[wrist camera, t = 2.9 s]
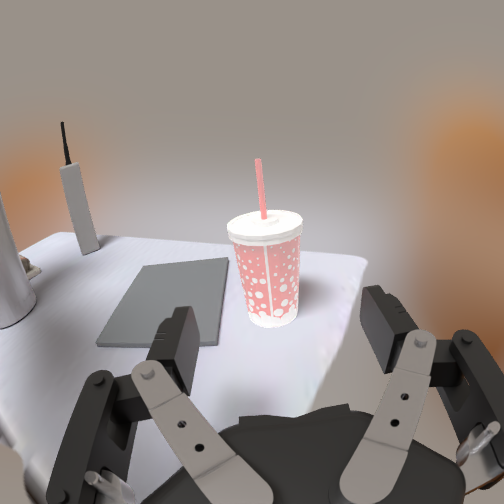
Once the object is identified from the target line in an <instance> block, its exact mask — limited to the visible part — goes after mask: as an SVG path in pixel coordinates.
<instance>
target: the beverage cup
mask: <svg viewBox="0 0 504 504" xmlns="http://www.w3.org/2000/svg"><path fill="white" fill-rule="evenodd" d="M255 165H256V175H257V183H258V192H259V202H260V211H256V212H251V213H247V214H243V215H240V216H238V217H236V218H234V219H232V220H231V221H230V222H229V223H228V224H227V230H228V233H229V239H230V240H232V241H233V245H234V249H235V254H236V259H237V263H238V268H239V272H240V277H241V281H242V286H243V290H244V295H245V299H246V304H247V308H248V313H249V317H250V319H251V321H252V322H253V323H254V324H256V325H259V326H261V327H267V328H276V327H282V326H284V325H286V324H289V323H291V322H292V321H293V320H294V319H295V318H296V316H297V312H298V294H299V263H300V234H301V233H302V230H303V226H302V224H303V219H302V217H301V216H300V215H299V214H296V213H294V212H291V211H283V210H266V201H265V192H264V182H263V172H262V163H261V158H259V159H255Z"/></svg>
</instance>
